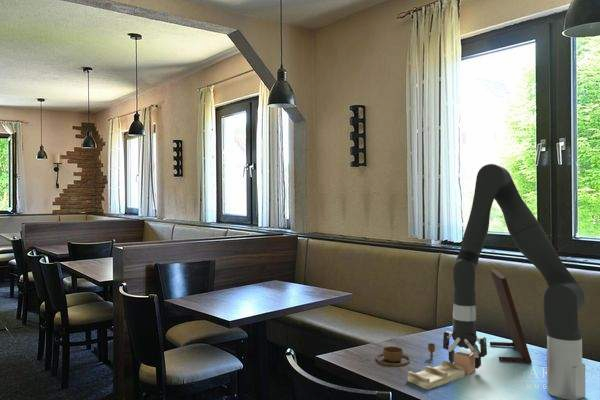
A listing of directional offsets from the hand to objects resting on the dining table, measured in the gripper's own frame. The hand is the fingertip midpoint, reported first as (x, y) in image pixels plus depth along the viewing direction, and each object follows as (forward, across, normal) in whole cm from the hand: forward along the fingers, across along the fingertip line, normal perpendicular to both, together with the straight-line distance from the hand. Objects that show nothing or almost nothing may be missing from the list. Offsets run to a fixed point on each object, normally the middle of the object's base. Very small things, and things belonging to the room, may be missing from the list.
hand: (464, 365), depth 165 cm
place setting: (+3, +19, +6) cm, 20 cm away
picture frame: (+2, -6, -27) cm, 28 cm away
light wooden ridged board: (+2, +4, +14) cm, 14 cm away
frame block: (+2, 0, 0) cm, 2 cm away
